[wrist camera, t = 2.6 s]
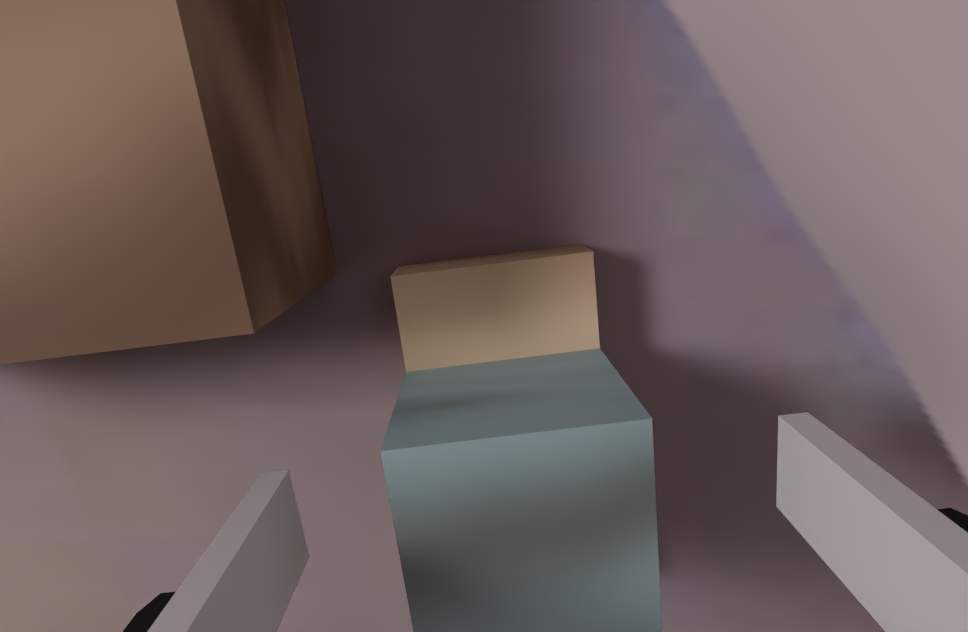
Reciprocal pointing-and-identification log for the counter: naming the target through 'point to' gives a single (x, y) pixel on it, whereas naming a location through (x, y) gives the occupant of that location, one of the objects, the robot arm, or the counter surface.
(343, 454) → the counter surface
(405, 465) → the blue cube on tile
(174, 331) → the dock
